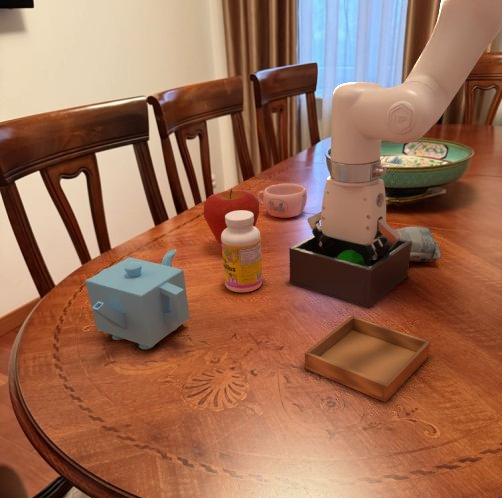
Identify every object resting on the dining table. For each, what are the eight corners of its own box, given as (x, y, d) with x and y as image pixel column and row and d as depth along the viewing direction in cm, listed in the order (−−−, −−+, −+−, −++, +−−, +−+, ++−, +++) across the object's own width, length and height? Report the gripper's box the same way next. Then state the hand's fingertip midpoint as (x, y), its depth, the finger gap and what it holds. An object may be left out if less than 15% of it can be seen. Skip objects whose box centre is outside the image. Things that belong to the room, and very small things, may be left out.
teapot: (69, 346, 77) (49, 277, 71) (149, 295, 90) (138, 233, 84) (149, 375, 70) (135, 302, 64) (224, 315, 83) (218, 249, 77)
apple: (247, 233, 112) (244, 177, 106) (270, 250, 104) (268, 190, 98) (200, 244, 109) (193, 186, 102) (219, 262, 100) (214, 201, 94)
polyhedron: (367, 274, 91) (369, 248, 89) (357, 285, 88) (359, 259, 85) (341, 269, 94) (342, 244, 91) (330, 280, 90) (330, 254, 88)
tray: (428, 357, 70) (430, 341, 69) (385, 402, 63) (387, 386, 62) (351, 330, 77) (352, 315, 76) (304, 368, 70) (304, 352, 68)
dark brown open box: (407, 277, 91) (411, 241, 87) (368, 308, 82) (371, 270, 79) (332, 256, 100) (333, 224, 96) (289, 283, 91) (289, 248, 88)
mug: (312, 209, 123) (312, 184, 120) (297, 223, 116) (297, 197, 113) (266, 205, 128) (265, 180, 125) (249, 218, 120) (247, 193, 117)
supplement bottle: (219, 281, 93) (213, 212, 86) (254, 274, 95) (250, 205, 88) (232, 297, 88) (227, 224, 81) (268, 288, 90) (265, 217, 83)
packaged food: (390, 269, 94) (393, 243, 91) (382, 244, 104) (385, 220, 101) (440, 269, 93) (444, 243, 90) (427, 243, 103) (430, 220, 100)
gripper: (417, 172, 78) (405, 276, 88) (321, 158, 88) (319, 253, 98) (394, 184, 74) (384, 293, 83) (295, 169, 84) (296, 267, 93)
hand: (349, 271), depth 90 cm, fingers open, 8 cm apart
